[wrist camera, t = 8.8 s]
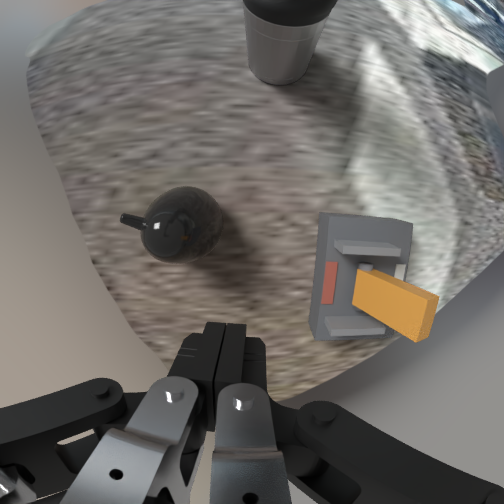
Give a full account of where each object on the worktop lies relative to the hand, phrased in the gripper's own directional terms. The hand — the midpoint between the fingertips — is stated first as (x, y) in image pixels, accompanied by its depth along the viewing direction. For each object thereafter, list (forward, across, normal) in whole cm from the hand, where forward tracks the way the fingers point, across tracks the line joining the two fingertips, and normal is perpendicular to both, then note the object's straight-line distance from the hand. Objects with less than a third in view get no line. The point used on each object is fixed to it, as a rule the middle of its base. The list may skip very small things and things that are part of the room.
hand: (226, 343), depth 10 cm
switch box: (+32, -17, +6) cm, 36 cm away
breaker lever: (+26, -15, +6) cm, 30 cm away
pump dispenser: (+32, +9, -1) cm, 33 cm away
